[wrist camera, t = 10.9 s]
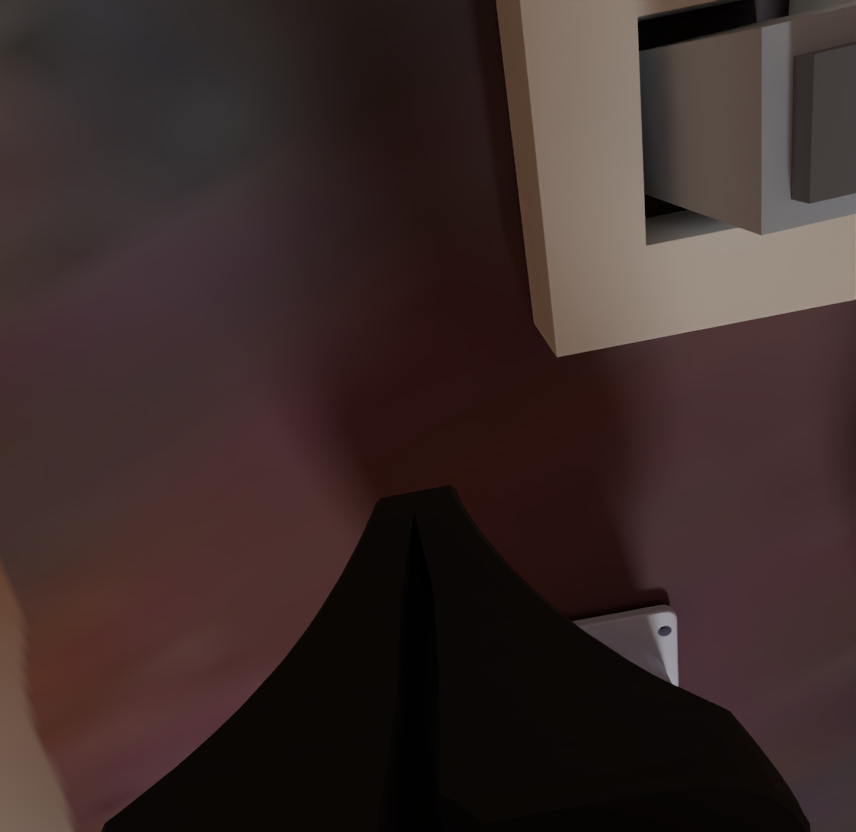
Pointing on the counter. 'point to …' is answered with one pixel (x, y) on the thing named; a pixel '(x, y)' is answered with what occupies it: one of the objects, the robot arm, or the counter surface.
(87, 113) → the counter surface
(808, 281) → the port
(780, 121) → the plug
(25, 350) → the counter surface
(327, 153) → the counter surface
